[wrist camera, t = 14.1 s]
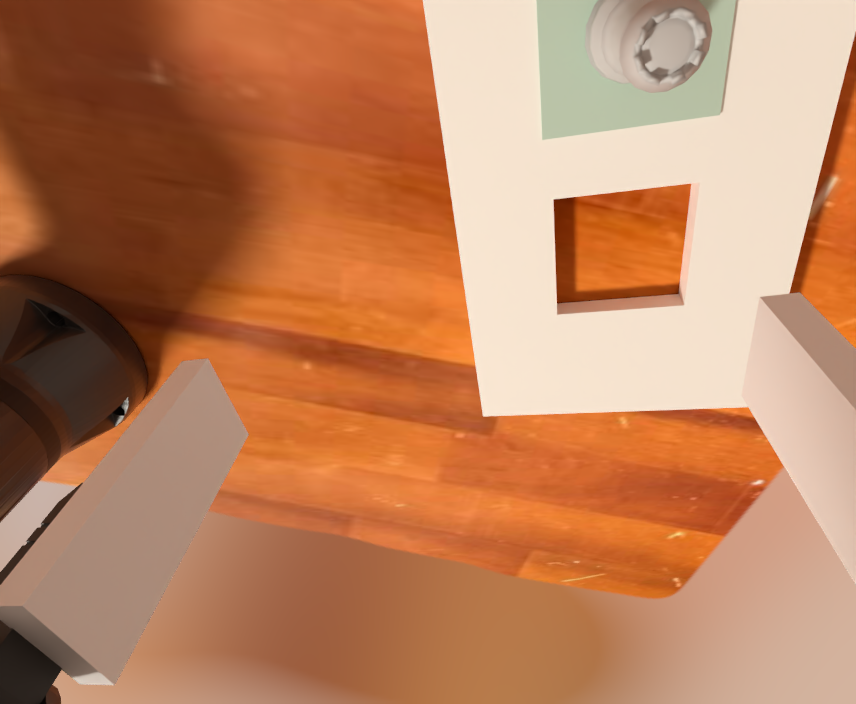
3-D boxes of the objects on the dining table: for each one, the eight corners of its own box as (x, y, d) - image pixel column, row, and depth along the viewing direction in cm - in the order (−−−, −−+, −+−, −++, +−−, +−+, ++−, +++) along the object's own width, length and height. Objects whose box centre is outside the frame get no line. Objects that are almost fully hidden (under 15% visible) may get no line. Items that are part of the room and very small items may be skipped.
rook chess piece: (624, -48, 24) (666, -58, 17) (701, 6, 24) (769, 17, 18) (564, 51, 26) (581, 75, 20) (636, 98, 27) (675, 136, 21)
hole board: (483, 403, 43) (482, 418, 41) (412, -104, 25) (406, -108, 23) (752, 393, 39) (761, 408, 37) (899, -223, 21) (926, -238, 19)
